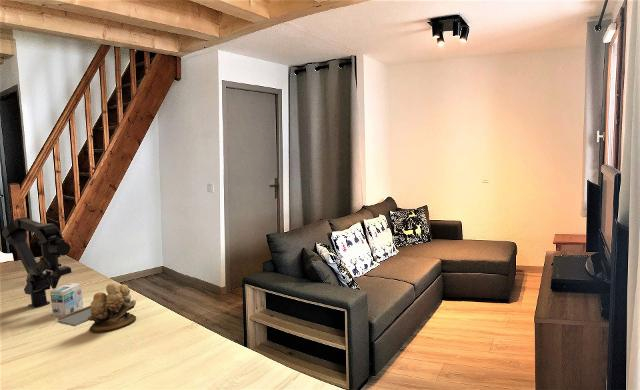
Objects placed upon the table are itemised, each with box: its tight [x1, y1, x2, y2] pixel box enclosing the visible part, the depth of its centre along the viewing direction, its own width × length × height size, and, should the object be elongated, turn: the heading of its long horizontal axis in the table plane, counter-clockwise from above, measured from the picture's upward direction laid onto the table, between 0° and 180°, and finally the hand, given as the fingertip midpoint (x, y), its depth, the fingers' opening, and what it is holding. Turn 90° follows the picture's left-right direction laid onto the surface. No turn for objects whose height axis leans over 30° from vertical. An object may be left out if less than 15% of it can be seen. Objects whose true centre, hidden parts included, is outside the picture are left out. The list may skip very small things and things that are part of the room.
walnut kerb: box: [57, 304, 91, 321], centre depth 188 cm, size 1×16×1 cm, turn 152°
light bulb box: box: [49, 282, 84, 317], centre depth 190 cm, size 11×7×11 cm, turn 168°
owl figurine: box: [88, 282, 137, 334], centre depth 173 cm, size 18×12×17 cm, turn 136°
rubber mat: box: [57, 309, 92, 327], centre depth 185 cm, size 11×18×1 cm, turn 152°
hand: (54, 288), depth 194 cm, fingers closed
